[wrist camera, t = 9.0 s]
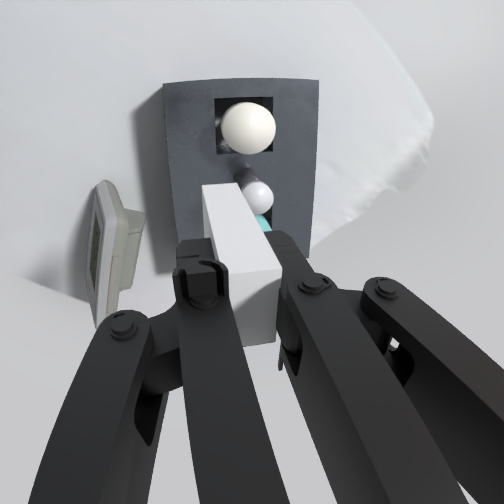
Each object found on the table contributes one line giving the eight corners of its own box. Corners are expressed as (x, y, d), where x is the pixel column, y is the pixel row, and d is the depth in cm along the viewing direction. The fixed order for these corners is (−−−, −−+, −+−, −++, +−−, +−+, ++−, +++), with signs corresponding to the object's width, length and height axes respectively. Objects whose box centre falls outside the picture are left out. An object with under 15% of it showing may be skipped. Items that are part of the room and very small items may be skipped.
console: (182, 252, 42) (182, 273, 38) (165, 83, 31) (162, 83, 27) (296, 239, 45) (308, 257, 41) (302, 79, 33) (318, 80, 29)
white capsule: (232, 193, 34) (241, 216, 29) (231, 167, 33) (240, 185, 28) (259, 191, 35) (273, 213, 30) (259, 165, 33) (273, 182, 28)
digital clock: (103, 170, 34) (78, 202, 25) (168, 198, 38) (163, 238, 29) (69, 271, 40) (48, 321, 31) (124, 293, 44) (115, 346, 35)
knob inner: (217, 142, 35) (224, 156, 29) (215, 100, 33) (222, 104, 26) (259, 139, 36) (275, 153, 30) (259, 98, 33) (275, 103, 27)
